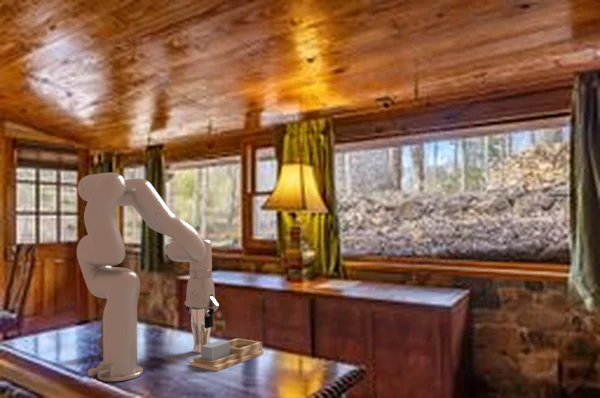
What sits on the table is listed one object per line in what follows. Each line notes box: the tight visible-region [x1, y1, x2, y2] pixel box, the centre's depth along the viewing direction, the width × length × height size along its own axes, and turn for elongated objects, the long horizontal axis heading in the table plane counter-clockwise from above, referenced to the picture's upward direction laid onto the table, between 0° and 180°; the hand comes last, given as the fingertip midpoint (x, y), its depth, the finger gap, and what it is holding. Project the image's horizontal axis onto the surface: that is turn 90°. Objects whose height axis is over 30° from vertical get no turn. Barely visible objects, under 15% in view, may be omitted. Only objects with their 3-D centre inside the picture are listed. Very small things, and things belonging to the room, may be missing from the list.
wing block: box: [200, 339, 230, 361], centre depth 159 cm, size 8×4×5 cm, turn 147°
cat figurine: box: [97, 318, 103, 356], centre depth 171 cm, size 8×8×12 cm
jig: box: [189, 337, 264, 372], centre depth 164 cm, size 22×12×4 cm, turn 145°
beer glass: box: [190, 308, 212, 354], centre depth 175 cm, size 7×7×15 cm
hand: (201, 325), depth 175 cm, fingers closed on beer glass, 6 cm apart
